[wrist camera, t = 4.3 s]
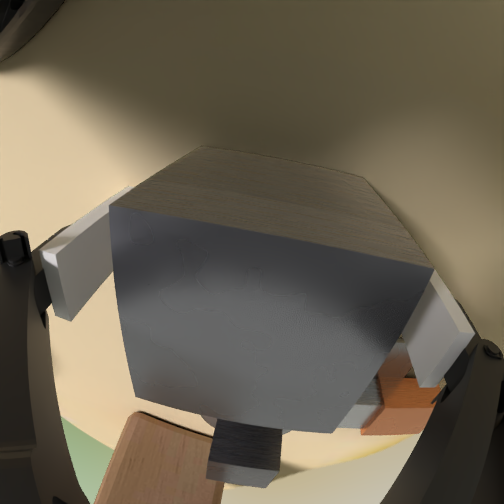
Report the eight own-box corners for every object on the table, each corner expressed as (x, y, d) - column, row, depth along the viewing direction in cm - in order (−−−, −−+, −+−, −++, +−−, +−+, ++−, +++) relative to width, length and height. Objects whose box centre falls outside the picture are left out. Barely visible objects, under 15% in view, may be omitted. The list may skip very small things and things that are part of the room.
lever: (163, 296, 16) (107, 402, 10) (457, 343, 16) (494, 433, 10) (169, 393, 21) (141, 473, 15) (393, 423, 21) (404, 496, 14)
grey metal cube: (201, 145, 12) (108, 205, 6) (362, 177, 12) (434, 268, 6) (190, 280, 16) (135, 396, 9) (321, 305, 16) (331, 433, 9)
